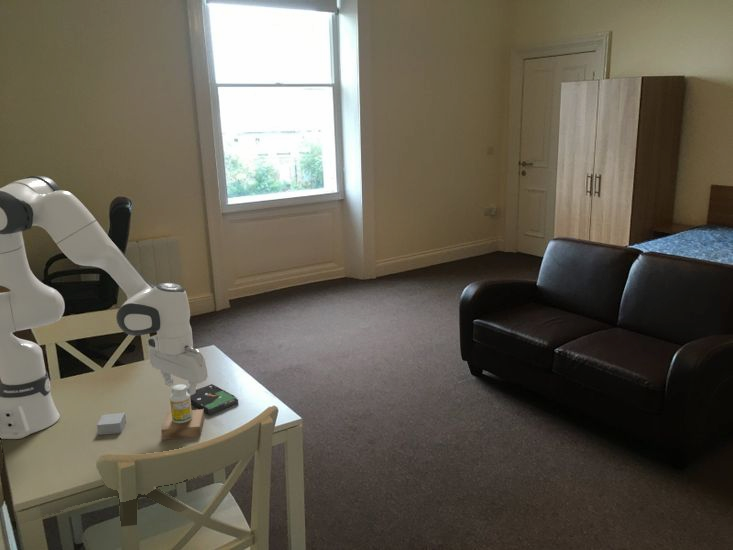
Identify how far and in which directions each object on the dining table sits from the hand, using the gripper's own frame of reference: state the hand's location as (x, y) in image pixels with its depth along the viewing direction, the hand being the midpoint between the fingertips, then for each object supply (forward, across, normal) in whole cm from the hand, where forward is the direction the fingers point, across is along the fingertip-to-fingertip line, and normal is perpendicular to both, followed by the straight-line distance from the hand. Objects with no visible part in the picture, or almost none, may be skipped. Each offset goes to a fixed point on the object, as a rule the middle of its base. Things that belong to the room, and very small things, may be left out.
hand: (180, 389), depth 166 cm
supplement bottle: (+9, -1, +1) cm, 9 cm away
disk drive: (+13, +5, -14) cm, 20 cm away
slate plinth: (+12, +16, +12) cm, 23 cm away
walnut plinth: (+12, -1, +1) cm, 12 cm away
